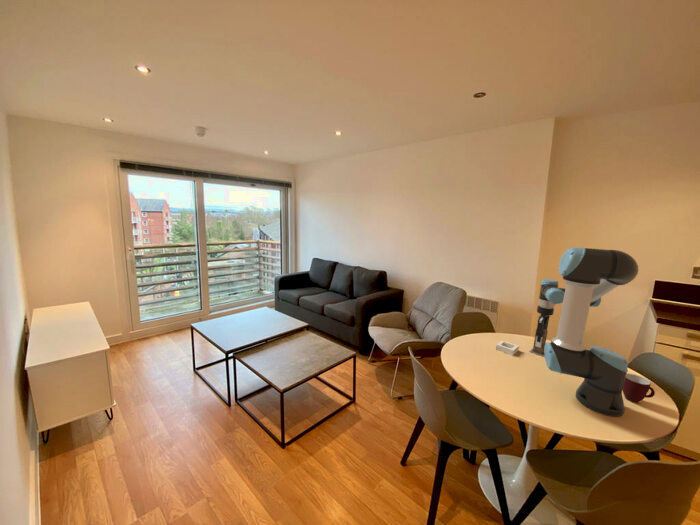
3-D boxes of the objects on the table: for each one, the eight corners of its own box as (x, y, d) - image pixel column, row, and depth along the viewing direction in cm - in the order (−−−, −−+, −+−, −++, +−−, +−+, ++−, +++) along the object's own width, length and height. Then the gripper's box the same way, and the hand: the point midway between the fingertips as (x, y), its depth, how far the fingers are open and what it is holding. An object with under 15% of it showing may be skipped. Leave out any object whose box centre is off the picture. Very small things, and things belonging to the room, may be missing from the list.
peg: (541, 354, 154) (545, 332, 152) (532, 351, 157) (536, 329, 155) (544, 352, 157) (547, 330, 155) (535, 349, 160) (538, 327, 158)
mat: (543, 356, 152) (543, 356, 152) (529, 351, 158) (529, 351, 158) (547, 353, 157) (547, 352, 157) (533, 348, 162) (533, 347, 162)
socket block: (512, 355, 152) (513, 350, 152) (495, 349, 159) (496, 344, 159) (518, 350, 158) (519, 346, 158) (501, 345, 165) (502, 340, 164)
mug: (641, 396, 120) (647, 375, 118) (658, 409, 112) (663, 387, 111) (614, 392, 122) (618, 372, 120) (628, 404, 114) (633, 383, 113)
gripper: (549, 311, 144) (542, 352, 148) (558, 305, 155) (551, 343, 159) (533, 307, 150) (526, 347, 154) (542, 302, 161) (536, 339, 165)
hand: (539, 345), depth 156 cm, fingers closed on peg, 4 cm apart
